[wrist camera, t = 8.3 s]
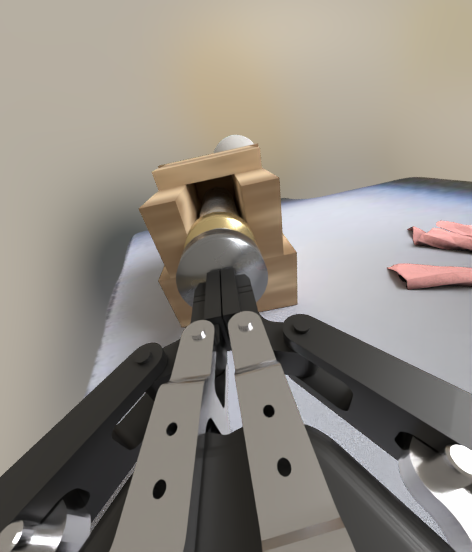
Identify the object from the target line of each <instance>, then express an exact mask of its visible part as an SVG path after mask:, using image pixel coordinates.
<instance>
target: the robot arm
mask: <svg viewBox="0 0 472 552" xmlns="http://www.w3.org/2000/svg"><path fill="white" fill-rule="evenodd" d="M231 350H232V353H233V359H234V365H235V381H236V387H237V393H238V399H239V405H240V412H241V418H242V424H243V427H242V428H240V429H238V430H236V431H234V432H232V433H230V423H229V417H228V363H227V351H231ZM285 375H288V376H289V377H290V378H291V379H292V380H293V381H294V382H296V383H297V384H298V385H300V386H301V387H302V388H304V389H305V390H306V391H308V392H309V393H310V394H311V395H313V396H314V397H315V398H317V399H318V400H319V401H321V402H322V403H323V404H325V405H326V406H327V407H328V408H330V409H331V410H332V411H334V412H335V413H336V414H338V415H339V416H340V417H341V418H343V419H344V420H345V421H347V422H348V423H349V424H351V425H352V426H353V427H355V428H356V429H357V430H358V431H360V432H361V433H362V434H364V435H365V436H366V437H368V438H369V439H370V440H372V441H373V442H374V443H375V444H377V445H378V446H379V447H381V448H382V449H383V450H385V451H386V452H387V453H389V454H390V455H391V456H392V457H394V458H395V459H396V460H398V467H399V472H400V475H401V478H402V480H403V483H404V484H405V486H406V488H407V490H408V491H409V492H410V494H411V495H412V497H413V498H414V499H415V500H416V501H417V502H418V503H419V504H420V505H421V506H422V507H423V508H424V509H425V510H426V511H427V512H428V513H429V514H430V516H431V517H432V518H433V519H434V520H435V522H436V523H437V524H438V526H439V527H440V529H441V530H442V532H443V534H444V535H445V537H446V539H447V541H448V543H449V544H447V543H446V542H445V541H444V540H443V539H442V538H441V537H440V536H439V535H438V534H436V533H435V532H434V531H433V530H432V529H431V528H430V527H429V526H428V525H427V524H425V523H424V522H423V521H422V520H421V519H420V518H419V517H418V516H417V515H416V514H414V513H413V512H412V511H411V510H410V509H409V508H408V507H407V506H406V505H405V504H403V503H402V502H401V501H400V500H399V499H398V498H397V497H396V496H395V495H394V494H392V493H391V492H390V491H389V490H388V489H387V488H386V487H385V486H384V485H383V484H381V483H380V482H379V481H378V480H377V479H376V478H375V477H374V476H373V475H372V474H370V473H369V472H368V471H367V470H366V469H365V468H364V467H363V466H362V465H361V464H360V463H358V462H357V461H356V460H355V459H354V458H353V457H352V456H351V455H350V454H349V453H347V452H346V451H345V450H344V449H343V448H342V447H341V446H340V445H339V444H337V443H336V442H335V441H334V440H333V439H331V438H330V437H329V436H327V435H326V434H324V433H323V432H321V431H319V430H317V429H315V428H313V427H311V426H308V425H305V424H304V423H303V421H302V418H301V416H300V413H299V410H298V408H297V405H296V403H295V400H294V398H293V395H292V392H291V390H290V387H289V385H288V382H287V379H286V377H285ZM144 392H146V394H145V395H144V396H143V397H142V398H141V399H140V400H139V402H138V403H137V404H136V405H135V406H134V407H133V408H132V410H131V411H130V412H129V413H128V414H127V415H126V416H125V418H124V419H123V420H122V421H121V422H120V423H119V424H117V423H118V422H119V421H120V420H121V419H122V417H123V416H124V415H125V414H126V413H127V412H128V411H129V409H130V408H131V407H132V406H133V405H134V404H135V403H136V402H137V400H138V399H139V398H140V397H141V396H142V395H143V394H144ZM116 424H117V425H116ZM136 462H137V463H136ZM135 463H136V467H135V470H134V473H133V474H132V475H131V476H130V478H129V479H128V480H127V482H126V483H125V485H124V486H123V487H122V489H121V490H120V492H119V493H118V495H117V496H116V498H115V499H114V500H113V502H112V503H111V505H110V506H109V508H108V509H107V511H106V512H105V513H104V515H103V516H102V518H101V519H100V521H99V522H98V524H97V525H96V526H95V528H94V529H93V531H92V532H91V531H90V527H91V523H92V521H93V520H94V519H95V517H96V516H97V515H98V513H99V512H100V510H101V509H102V508H103V506H104V505H105V504H106V502H107V501H108V500H109V498H110V497H111V496H112V494H113V493H114V491H115V490H116V489H117V487H118V486H119V485H120V483H121V482H122V481H123V479H124V478H125V476H126V475H127V474H128V472H129V471H130V470H131V468H132V467H133V466H134V464H135ZM0 552H472V394H471V393H468V392H466V391H464V390H462V389H460V388H458V387H456V386H454V385H452V384H450V383H448V382H446V381H444V380H442V379H439V378H437V377H435V376H433V375H431V374H429V373H427V372H425V371H423V370H421V369H419V368H417V367H415V366H413V365H411V364H408V363H406V362H404V361H402V360H400V359H398V358H396V357H394V356H392V355H390V354H388V353H386V352H384V351H382V350H380V349H377V348H375V347H373V346H371V345H369V344H367V343H365V342H363V341H361V340H359V339H357V338H355V337H353V336H351V335H349V334H346V333H344V332H342V331H340V330H338V329H336V328H334V327H332V326H330V325H328V324H326V323H324V322H322V321H320V320H318V319H315V318H313V317H311V316H309V315H305V314H296V315H292V316H290V317H288V318H287V319H286V320H285V321H284V323H283V322H272V321H268V320H266V319H264V318H263V317H262V316H261V315H260V314H259V312H258V308H257V305H256V301H255V297H254V293H253V289H252V286H251V282H250V278H249V277H248V276H246V275H245V274H241V275H235V271H234V267H231V268H226V269H221V272H220V270H217V271H212V272H207V275H206V282H203V283H199V284H198V286H197V287H196V289H195V292H194V299H193V307H192V315H191V322H190V325H188V326H187V327H186V328H185V329H184V331H183V333H182V336H181V339H179V340H178V341H176V342H174V343H172V344H170V345H168V346H166V347H164V348H162V347H161V346H160V345H159V344H157V343H148V344H145V345H143V346H141V347H139V348H138V349H137V350H135V351H134V352H133V353H132V354H131V355H130V356H129V357H128V358H127V359H126V360H125V361H124V362H122V363H121V364H120V365H119V366H118V367H117V368H116V369H115V370H114V371H113V372H112V373H111V374H110V375H109V376H108V377H106V378H105V379H104V380H103V381H102V382H101V383H100V384H99V385H98V386H97V387H96V388H95V389H94V390H93V391H92V392H90V393H89V394H88V395H87V396H86V397H85V398H84V399H83V400H82V401H81V402H80V403H79V404H78V405H77V406H76V407H74V408H73V409H72V410H71V411H70V412H69V413H68V414H67V415H66V416H65V417H64V418H63V419H62V420H61V421H60V422H58V424H56V425H55V426H54V427H53V428H52V429H51V430H50V431H49V432H48V433H47V434H46V435H45V436H44V437H42V439H40V440H39V441H38V442H37V443H36V444H35V445H34V446H33V447H32V448H31V449H30V450H29V451H28V452H26V453H25V454H24V455H23V456H22V457H21V458H20V459H19V460H18V461H17V462H16V463H15V464H14V465H13V466H12V467H10V468H9V470H7V471H6V472H5V473H4V474H3V475H2V476H1V477H0Z"/></svg>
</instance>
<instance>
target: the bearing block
mask: <svg viewBox="0 0 472 552" xmlns="http://www.w3.org/2000/svg"><path fill="white" fill-rule="evenodd" d="M158 167H159V168H158V169H156V170H154V171H152V174H153V177H154V180H155V182H156V185H157V187H158V190H159V191H158V192H157V193H156V194H154V195H153V196H152V197H151V198H150V199H149V200H148V201H147V202H145V204H143V205H142V206H141V207H140V208H139V211H140V213H141V215H142V217H143V220H144V222H145V224H146V226H147V228H148V230H149V233H150V235H151V237H152V239H153V241H154V243H155V246H156V248H157V250H158V252H159V254H160V256H161V259H162V261H163V263H164V265H165V266H164V268H163V270H162V273H161V275H160V278H159V280H158V282H159V284H160V286H161V287H162V289H163V291H164V293H165V295H166V297H167V299H168V301H169V303H170V305H171V307H172V309H173V311H174V313H175V315H176V317H177V319H178V321H179V323H180V325H181V327H186V326H188V325H190V322H191V315H192V307H191V306H190V305H188V304H187V303H186V302H185V301H184V299H183V298H182V297H181V295H180V293H179V291H178V289H177V285H176V273H177V269H178V265H179V262H180V259H181V255H182V252H183V250H184V245H185V242H186V238H187V235H188V232H189V230H190V228H191V226H192V225H193V224H194V222H195V221H196V220H198V219H199V217H200V212H201V207H202V202H203V198H204V195H205V194H206V192H207V191H208V190H210V189H211V188H214V187H222V188H225V189H226V190H228V191H229V192H230V193H231V195H232V196H233V199H234V202H235V205H236V209H237V212H238V215H239V217H240V218H242V219H243V220H244V221H245V222H246V223H247V224H248V225H249V227H250V229H251V230H252V233H253V235H254V238H255V240H256V243H257V246H258V248H259V250H260V252H261V255H262V257H263V260H264V262H265V265H266V267H267V271H268V284H267V287H266V290H265V292H264V294H263V295H262V297H261V298H260V299H259V300H258V301H257V302H256V305H257V308H258V312H262V311H267V310H272V309H277V308H282V307H287V306H292V305H297V252H296V251H295V249H294V248H293V247H292V245H291V244H290V243H289V241H288V240H287V239H286V237H285V236H284V234H283V233H282V216H281V198H280V181H279V177H277V176H275V175H274V174H272V173H270V172H268V171H267V170H265V169H263V168H262V164H261V153H260V148H259V147H258V144H252V145H248V146H244V147H239V148H235V149H230V150H226V151H221V152H217V153H213V154H208V155H204V156H200V157H195V158H191V159H186V160H182V161H177V162H173V163H168V164H164V165H160V166H158Z"/></svg>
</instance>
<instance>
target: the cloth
mask: <svg viewBox="0 0 472 552" xmlns="http://www.w3.org/2000/svg"><path fill="white" fill-rule="evenodd" d="M436 225H437V226H438V227H440V228H443V229H440V228H432V230H430V231H429V232H428V233H426V232H424V231H423V230H421V229H419V228H416V227H414V226H413V227H411V228H409V229H407V230H411V231H413V242H414V244H415V245H425V246H431V247H437V248H441V249H447V250H462V251H472V226H471V225H462V224H458V223H454V222H448V221H438V222H437V223H436ZM444 229H446V230H449V231H452V232H448V231H446V230H444ZM453 232H454V233H453ZM388 269H392V270H394V271H396V272H398V273H399V277H400V279H401V280H402V281H403V282H406V283H407V285H406V287H407V289H408V290H411V289H419V288H427V287H434V286H441V285H446V286H464V287H472V268H465V267H451V266H450V267H440V266H430V265H419V264H396V265H393V266H391V267H388Z"/></svg>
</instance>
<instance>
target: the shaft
mask: <svg viewBox="0 0 472 552" xmlns="http://www.w3.org/2000/svg"><path fill="white" fill-rule="evenodd" d="M231 267H234V271H235V275H241V274H245V275H246V276H248V277H249V278H250V282H251V286H252V289H253V293H254V297H255V301H256V302H257V301H258V300H259V299H260V298H261V297H262V295H263V294H264V292H265V290H266V287H267V284H268V271H267V267H266V265H265V262H264V260H263V257H262V255H261V252H260V250H259V248H258V246H257V243H256V240H255V238H254V235H253V233H252V230H251V229H250V227H249V225H248V224H247V223H246V222H245V221H244V220H243V219H242V218H240V217H239V215H238V212H237V209H236V205H235V202H234V199H233V196H232V195H231V193H230V192H229V191H228V190H226V189H225V188H222V187H214V188H211V189H210V190H208V191H207V192H206V194H205V195H204V198H203V202H202V207H201V212H200V217H199V219H198V220H196V221H195V222H194V224H193V225H192V226H191V228H190V230H189V232H188V235H187V238H186V242H185V245H184V250H183V252H182V255H181V259H180V262H179V265H178V269H177V273H176V285H177V289H178V291H179V293H180V295H181V297H182V298H183V299H184V301H185V302H186V303H187V304H188V305H190V306H191V307H193V299H194V292H195V289H196V287H197V286H198V284H199V283H203V282H206V275H207V272H212V271H217V270H220V272H221V269H226V268H231Z"/></svg>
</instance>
